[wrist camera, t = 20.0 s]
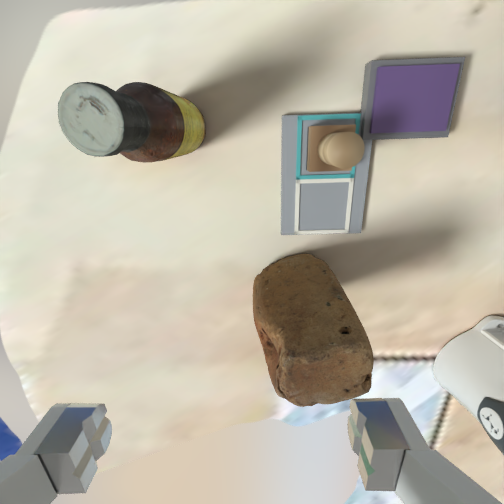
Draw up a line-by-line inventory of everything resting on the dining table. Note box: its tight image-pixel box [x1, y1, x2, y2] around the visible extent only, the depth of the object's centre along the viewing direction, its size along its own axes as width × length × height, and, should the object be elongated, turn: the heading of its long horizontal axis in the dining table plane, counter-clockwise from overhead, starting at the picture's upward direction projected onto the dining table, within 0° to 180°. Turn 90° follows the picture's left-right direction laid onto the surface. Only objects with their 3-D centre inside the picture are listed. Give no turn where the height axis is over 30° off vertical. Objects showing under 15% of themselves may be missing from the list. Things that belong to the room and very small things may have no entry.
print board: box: [281, 113, 372, 235], centre depth 36 cm, size 11×15×1 cm
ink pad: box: [360, 57, 465, 140], centre depth 32 cm, size 10×8×2 cm
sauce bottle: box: [58, 82, 205, 162], centre depth 25 cm, size 6×6×20 cm
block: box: [253, 254, 374, 407], centre depth 33 cm, size 11×8×20 cm
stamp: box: [306, 124, 365, 172], centre depth 31 cm, size 5×5×8 cm
